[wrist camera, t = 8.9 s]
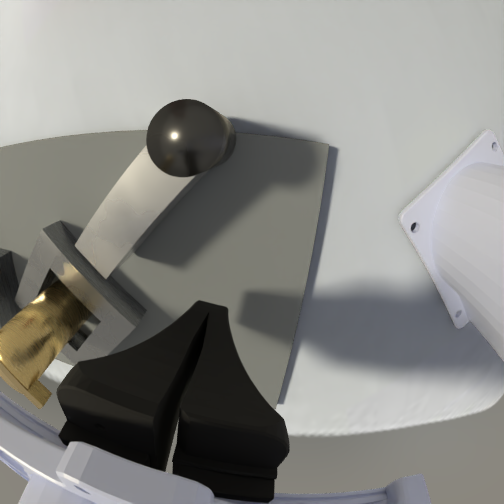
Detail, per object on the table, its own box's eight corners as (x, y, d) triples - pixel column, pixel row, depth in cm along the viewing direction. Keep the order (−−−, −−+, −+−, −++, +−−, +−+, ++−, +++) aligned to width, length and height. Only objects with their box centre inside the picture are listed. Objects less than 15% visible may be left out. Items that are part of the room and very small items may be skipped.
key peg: (113, 315, 14) (48, 402, 8) (91, 335, 15) (35, 412, 9) (59, 254, 13) (-26, 316, 7) (42, 281, 14) (-29, 341, 8)
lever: (248, 139, 10) (240, 137, 7) (132, 260, 13) (99, 291, 10) (207, 99, 10) (184, 83, 7) (99, 225, 12) (60, 249, 9)
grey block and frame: (147, 310, 14) (124, 344, 11) (68, 390, 18) (53, 413, 16) (-4, 130, 11) (-37, 135, 8) (-37, 266, 15) (-57, 279, 12)
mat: (326, 144, 11) (329, 144, 11) (275, 403, 17) (275, 409, 16) (-30, 155, 12) (-34, 156, 11) (4, 330, 17) (1, 333, 17)
